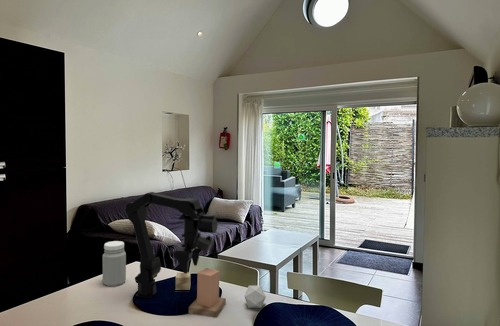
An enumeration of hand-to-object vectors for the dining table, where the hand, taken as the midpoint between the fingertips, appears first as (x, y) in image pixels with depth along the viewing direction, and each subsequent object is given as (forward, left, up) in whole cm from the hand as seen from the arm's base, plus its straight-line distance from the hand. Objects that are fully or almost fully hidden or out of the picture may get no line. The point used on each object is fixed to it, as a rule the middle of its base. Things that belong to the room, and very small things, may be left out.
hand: (190, 269), depth 141 cm
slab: (+9, -4, -14) cm, 17 cm away
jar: (-40, +8, -13) cm, 43 cm away
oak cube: (-8, +11, -13) cm, 19 cm away
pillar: (+9, -4, -11) cm, 15 cm away
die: (+26, +3, -13) cm, 29 cm away
